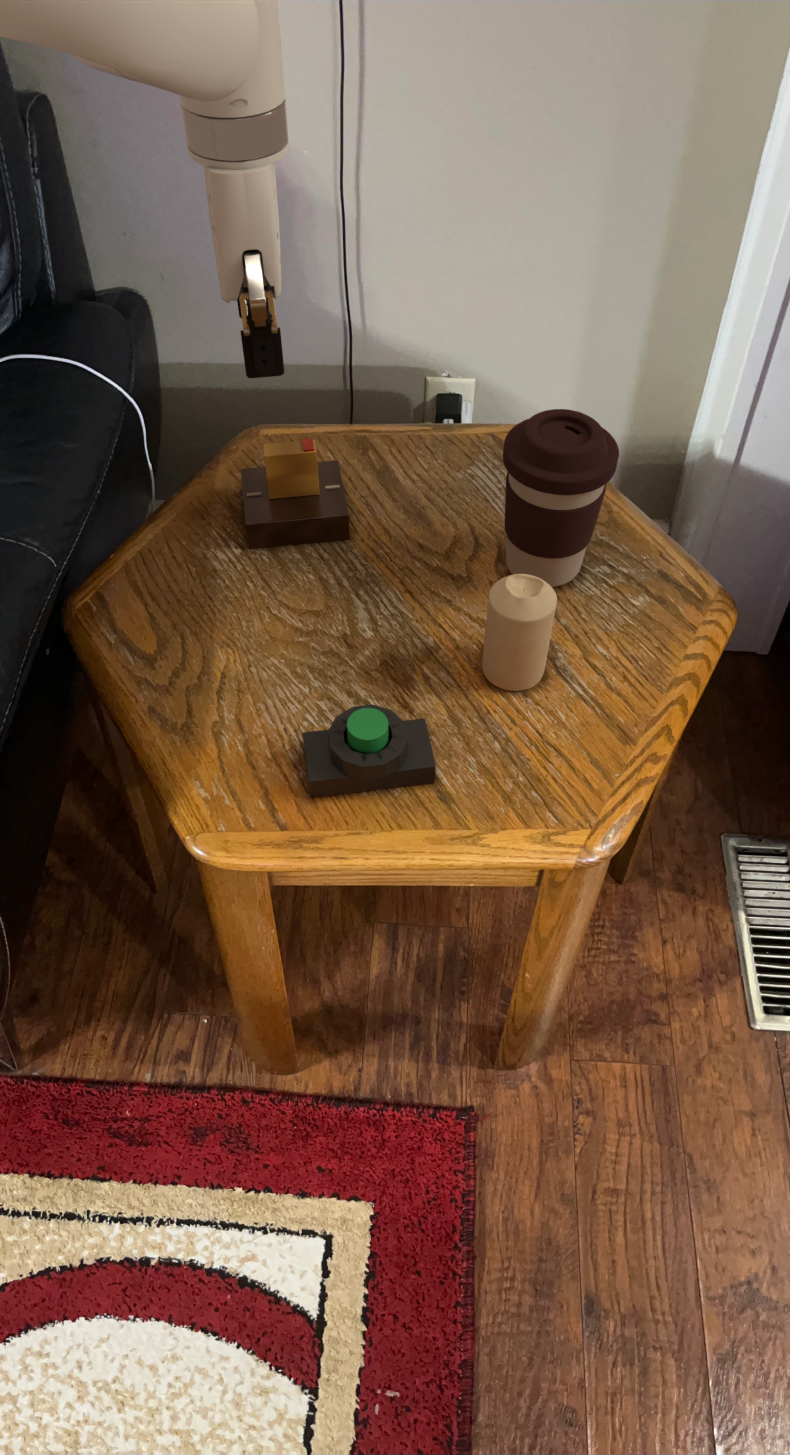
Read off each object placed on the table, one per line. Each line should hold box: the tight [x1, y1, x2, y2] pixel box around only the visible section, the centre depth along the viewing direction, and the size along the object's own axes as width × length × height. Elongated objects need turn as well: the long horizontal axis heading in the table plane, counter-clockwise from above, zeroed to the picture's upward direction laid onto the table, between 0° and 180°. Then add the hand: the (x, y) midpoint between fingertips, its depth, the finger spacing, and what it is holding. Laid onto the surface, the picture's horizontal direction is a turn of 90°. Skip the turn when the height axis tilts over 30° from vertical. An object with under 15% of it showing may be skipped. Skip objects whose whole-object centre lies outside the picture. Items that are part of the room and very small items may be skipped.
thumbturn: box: [262, 438, 319, 499], centre depth 95 cm, size 5×2×5 cm, turn 99°
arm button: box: [347, 708, 388, 754], centre depth 76 cm, size 3×3×2 cm
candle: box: [481, 574, 558, 692], centre depth 82 cm, size 6×6×10 cm
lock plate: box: [240, 459, 351, 550], centre depth 98 cm, size 10×9×3 cm
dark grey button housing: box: [302, 704, 437, 798], centre depth 78 cm, size 10×6×4 cm, turn 99°
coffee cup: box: [502, 408, 620, 588], centre depth 89 cm, size 10×10×15 cm
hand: (261, 344), depth 85 cm, fingers open, 9 cm apart
